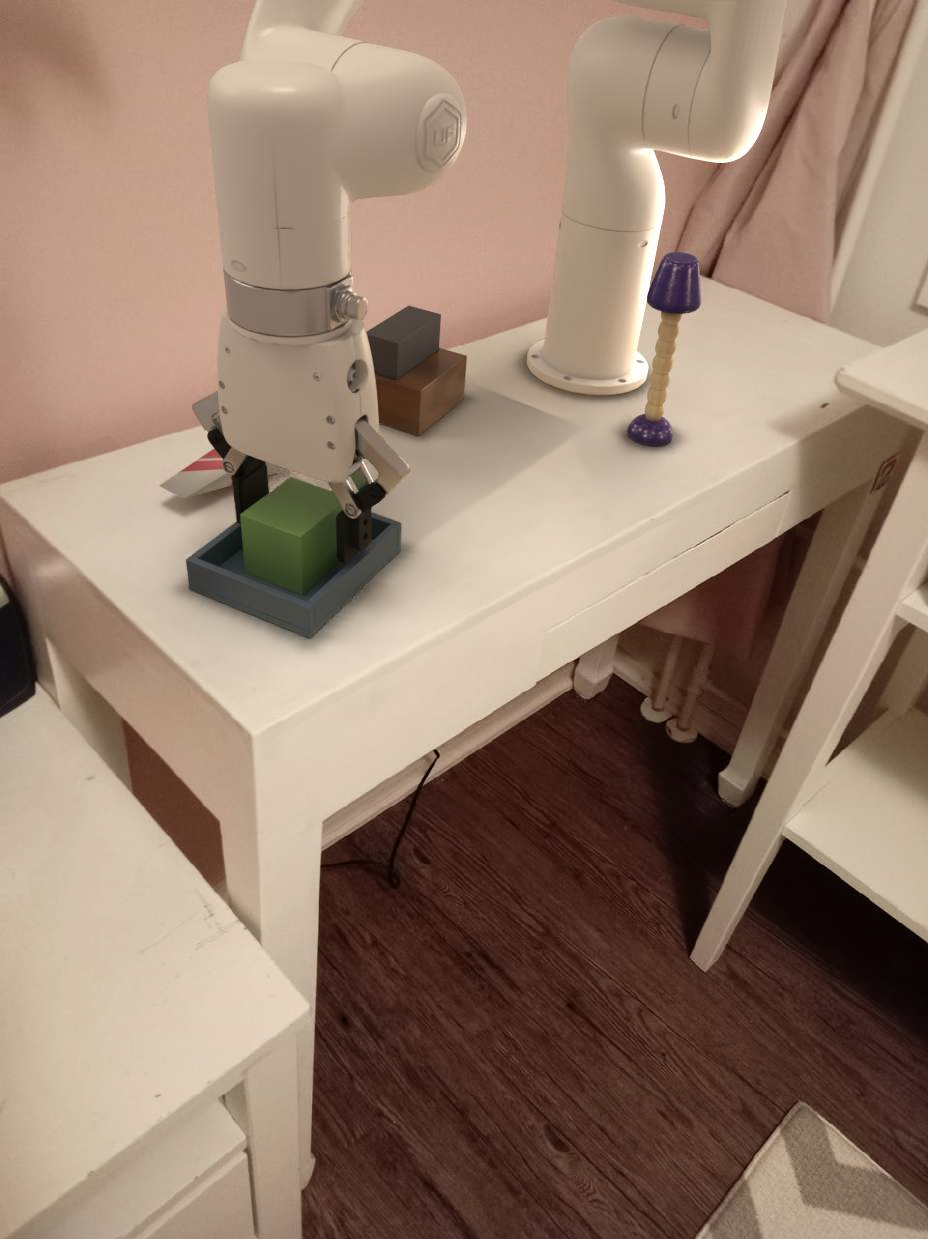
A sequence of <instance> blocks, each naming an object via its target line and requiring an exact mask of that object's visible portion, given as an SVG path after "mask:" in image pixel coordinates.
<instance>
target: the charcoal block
mask: <svg viewBox="0 0 928 1239" xmlns="http://www.w3.org/2000/svg"><path fill="white" fill-rule="evenodd" d="M441 323H442V314H441V313H439V312H435V311H430V310H426V309H422V308H419V307H416V306H412V305H406V306H405V307H404V308H401V309H400V310H398V311H397V312H395V313H394V314H393V315H391V316H389V317H388V318H386V319H384V320H382V321H381V322H379V323H378V324H376V325H375V326H373V327H372V328H370V329H368V330H366V333H367V337H368V341H369V345H370V350H371V355H372V360H373V367H374V373H375V374H378V375H381V376H384V377H388V378H391V379H394V380H398V379H399V378H400V377H402V376H403V375H405V374H406V373H407V372H409V371H410V370H412V369H413V368H414V367H416V366H417V365H418V364H420V363H421V362H423V361H424V360H425V359H427V358H428V357H430V356H431V355H432V354H434V353H435V352H437V351H438V350H439V348H440V338H441Z"/></svg>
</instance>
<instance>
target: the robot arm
mask: <svg viewBox="0 0 928 1239" xmlns="http://www.w3.org/2000/svg"><path fill="white" fill-rule="evenodd" d="M365 1H366V0H255V3H254V7H253V10H252V12H251V16H250V18H249V22H248V24H247V28H246V32H245V36H244V39H243V43H242V47H241V51H240V54H239V60H238V61H236V62H233V63H229V64H227V65H224V66H223V67H222V66H221V67H220V69H218V70H217V71H216V72H215V73H214V74H213V76H211V80H210V81H209V84H208V88H207V95H206V100H207V102H206V103H207V104H206V105H207V117H208V128H209V137H210V138H209V139H210V148H211V158H212V168H213V170H212V171H213V179H214V189H215V198H216V200H215V201H216V208H217V210H216V211H217V218H218V219H217V220H218V230H219V231H218V232H219V240H220V248H221V249H220V250H221V261H222V262H221V263H222V269H223V270H222V271H223V279H224V281H223V282H224V289H225V299H226V300H225V301H226V306H225V307H224V309H223V310H222V312H221V316H220V322H219V330H218V339H217V340H218V341H217V364H216V367H217V372H216V373H217V389H216V390H215V391H214V392H211V393H209V394H208V395H205V396H204V397H202V398H200V399H199V400H197V401H196V402H194V403H193V404H192V405H191V409H192V412H193V414H194V415H195V417H196V419H197V420H198V422H199V424H200V425H201V427H202V428H203V430H204V431H206V432H207V435H206V438H207V440H208V442H209V444H211V447H212V448H213V449H215V450H216V451H217V452H218V454H219V455H220V456H221V458H222V459H223V461H222V468H223V470H224V471H225V472H226V473H227V474H229V475H232V484H233V485H232V492H233V494H232V495H233V501H234V510H235V518H236V519H235V520H236V522H237V523H238V524H241V518H240V514H241V513H243V512H244V511H246V510H247V509H248V508H250V507H251V506H252V505H254V504H255V503H256V502H258V501H259V500H260V499H262V498H263V497H264V496H266V495H267V494H268V493H270V488H269V487H270V486H269V485H270V484H269V475H268V473H267V465H266V462H268V463H271V464H274V465H277V467H280V468H283V469H285V470H289V471H292V472H295V473H297V474H300V475H303V476H306V477H310V478H313V479H315V480H319V481H322V482H325V483H327V484H328V486H329V487H330V489H331V491H333V493H334V495H335V497H336V498H337V500H338V502H339V504H340V506H341V508H342V509H343V510H342V511H341V512H340V513H338V514H337V516H336V539H337V559H339V561H340V562H342V563H345V564H347V563H348V562H349V561H350V560H352V559H353V558H354V557H355V556H356V555H357V554H358V553H359V552H360V551H363V550H364V549H365V548H366V547H367V546H368V545H369V543H370V541H371V512H372V508H373V507H374V506H376V505H377V504H379V503H380V502H382V501H383V500H384V499H385V498H386V497H387V496H388V495H390V494H391V493H392V492H394V490H395V488H396V487H397V486H399V484H400V483H401V482H403V480H404V479H405V478H406V477H407V476H408V475H409V474H410V472H411V468H410V465H409V463H408V462H406V460H404V458H403V457H402V456H401V455H400V454H399V453H398V452H397V451H396V450H395V449H394V448H393V447H392V446H391V445H390V444H389V442H387V441H386V440H385V439H384V438H383V437H382V435H380V424H379V416H378V402H377V390H376V381H375V373H374V367H373V360H372V355H371V350H370V345H369V341H368V337H367V333H366V332H367V329H366V327H365V323H364V322H363V320H364V319H365V318H366V317H367V315H368V312H369V301H368V299H367V298H366V297H364V296H360V295H358V293H356V292H354V275H352V266H353V265H352V263H353V261H352V259H353V258H352V257H353V256H352V205H353V204H354V203H355V202H356V201H358V200H363V199H364V200H365V199H373V198H384V197H385V198H387V197H396V196H405V195H410V194H414V193H418V192H420V191H423V190H425V189H427V188H430V187H432V186H433V185H434V184H436V183H437V182H439V181H440V180H441V179H443V178H444V177H445V175H447V174H448V173H449V172H450V170H451V169H452V168H453V166H454V165H455V164H456V161H457V160H458V158H459V156H460V154H461V152H462V149H463V146H464V143H465V141H466V140H465V139H466V136H467V129H468V113H467V112H468V111H467V106H466V100H465V98H464V94H463V92H462V90H461V88H460V86H459V84H458V82H457V81H456V79H455V77H454V76H453V75H452V74H451V73H450V72H449V71H448V70H447V69H446V68H444V67H443V66H442V65H440V64H439V63H437V62H436V61H434V60H433V59H431V58H429V57H427V56H424V55H421V54H418V53H416V52H412V51H408V50H405V49H401V48H400V49H399V48H395V47H391V46H385V45H381V44H375V43H373V42H369V41H364V40H360V39H357V38H356V39H355V38H352V37H347V36H344V35H345V32H346V30H347V28H348V26H349V24H350V23H351V21H352V19H353V17H354V16H355V14H356V13H357V11H359V9H360V7H362V5H363V4H364V2H365ZM612 1H614V2H617V3H620V4H623V5H627V6H632V7H636V8H641V9H646V10H653V11H659V12H664V13H670V14H676V15H682V16H689V17H693V18H699V19H703V20H705V21H706V23H707V26H708V28H702V27H697V26H690V25H686V24H683V23H678V22H672V21H667V20H661V19H655V18H648V17H642V16H635V15H617V16H609V17H605V18H603V19H600V20H597V21H596V22H594V23H592V24H591V25H590V26H588V27H587V28H586V29H585V30H584V31H583V32H582V33H581V35H579V38H578V39H577V41H576V42H575V44H574V47H573V49H572V51H571V54H570V58H569V62H568V68H567V75H566V76H567V78H566V104H567V106H566V108H567V135H568V136H567V154H566V156H567V158H566V168H565V169H566V170H565V179H564V188H563V194H562V195H563V196H562V202H561V212H560V218H559V226H558V234H557V242H556V249H555V256H554V257H555V258H554V264H553V272H552V280H551V288H550V296H549V303H548V310H547V318H546V326H545V333H544V338H543V339H539V340H538V341H536V342H535V343H533V344H532V345H531V346H530V347H529V348H528V351H527V355H526V365H527V368H528V370H529V371H530V373H531V374H532V375H534V376H535V377H536V378H537V379H538V380H540V381H541V382H543V383H545V384H547V385H550V387H551V386H552V387H554V388H556V389H560V390H563V391H566V392H569V393H574V394H579V395H588V396H615V395H621V394H625V393H629V392H632V391H634V390H636V389H638V388H640V387H641V386H642V385H643V384H644V383H645V382H646V380H647V377H648V372H649V363H648V362H647V360H646V358H645V357H644V356H643V355H642V354H641V353H640V352H639V351H637V350H638V346H639V340H640V335H641V329H642V325H643V320H644V315H645V310H646V305H647V300H646V297H647V293H648V291H649V288H650V285H651V280H652V278H651V277H652V274H653V269H654V263H655V258H656V254H657V249H658V244H659V237H660V233H661V227H662V223H663V219H664V212H665V206H666V191H665V182H664V179H663V175H662V174H663V173H662V171H661V169H660V165H659V162H658V158H657V156H656V153H655V151H660V152H664V153H667V154H668V153H669V154H672V155H677V156H681V157H685V158H690V159H694V160H700V161H704V162H711V163H719V164H720V163H730V162H734V161H736V160H738V159H740V158H741V157H743V156H745V155H746V154H747V153H748V152H749V150H751V148H752V147H753V146H754V144H755V142H756V140H757V139H758V137H759V135H760V133H761V130H762V128H763V125H764V122H765V119H766V115H767V113H768V108H769V104H770V99H771V96H772V89H773V85H774V84H773V83H774V79H775V75H776V74H775V72H776V67H777V61H778V55H779V49H780V44H781V37H782V31H783V25H784V21H785V15H786V9H787V5H788V4H787V3H788V0H612ZM363 460H366V461H367V462H368V463H370V464H371V465H372V466H373V468H375V470H376V471H377V477H376V479H375V480H374V479H373V478H372V476H371V474H370V472H369V470H368V468H367V466H366V464H365V463H364V461H363ZM349 477H350V478H351V480H352V482H353V484H354V486H355V488H356V489H357V491H356V492H354V489H353V488H352V486H351V484H350V482H349V480H348V478H349Z"/></svg>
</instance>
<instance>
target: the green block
mask: <svg viewBox="0 0 928 1239" xmlns="http://www.w3.org/2000/svg"><path fill="white" fill-rule="evenodd" d="M342 510H343V509H342V508H341V506H340V504H339V502H338V500H337V498H336V497H335V495H334V493H333V491H332V490H330V489H327V488H324V487H321V486H319V485H315V484H312V483H310V482H307V481H304V480H301V479H299V478H295V477H293V476H289V477H288V478H287V479H286V480H284V481H283V482H281V483H280V484H279V485H278V486H276V487H275V488H274V489H273V490H271V491H269V493H268V494H267V495H266V496H264V497H263V498H262V499H260V500H259V501H258V502H256V503H255V504H254V505H252V506H251V507H250V508H248V509H247V510H246V511H244V512H243V513H241V514H240V518H241V529H242V541H243V553H244V565H245V573H247V574H250V575H252V576H255V577H257V578H260V579H262V580H265V581H268V582H270V583H273V584H275V585H278V586H280V587H283V588H285V589H288V590H290V591H293V592H295V593H298V594H300V595H304V594H305V593H306V592H308V591H309V590H310V589H311V588H312V587H313V586H314V585H315V584H316V583H317V582H319V581H320V580H321V579H322V578H323V577H324V576H325V575H326V574H327V573H328V572H330V571H331V570H332V569H333V568H334V567H335V566H336V565H337V564H338V563H339V562H340V561H339V559H337V539H336V516H337V514H338V513H340V512H341V511H342Z"/></svg>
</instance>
